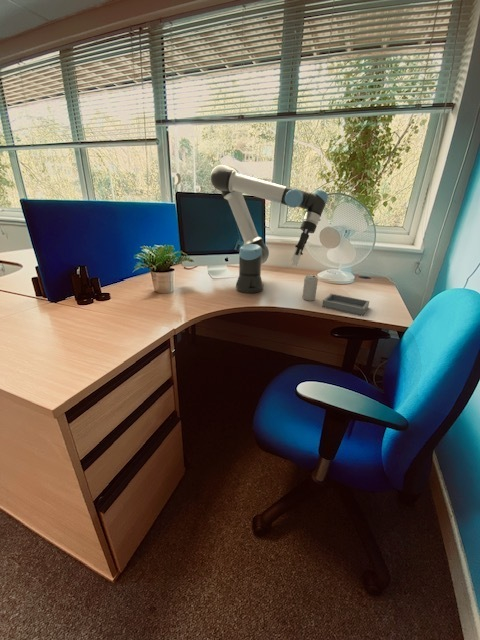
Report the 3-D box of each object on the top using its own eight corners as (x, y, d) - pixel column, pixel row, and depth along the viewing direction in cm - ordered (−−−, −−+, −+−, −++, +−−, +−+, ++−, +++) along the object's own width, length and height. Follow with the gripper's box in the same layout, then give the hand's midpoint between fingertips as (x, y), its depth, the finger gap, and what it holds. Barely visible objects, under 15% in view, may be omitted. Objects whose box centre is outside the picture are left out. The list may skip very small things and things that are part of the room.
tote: (322, 306, 124) (323, 300, 122) (329, 299, 133) (331, 293, 131) (362, 315, 114) (364, 309, 113) (368, 307, 123) (369, 301, 122)
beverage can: (315, 301, 129) (318, 278, 124) (302, 300, 131) (304, 277, 125) (314, 297, 135) (317, 274, 130) (302, 296, 136) (304, 274, 131)
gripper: (319, 217, 120) (301, 262, 123) (315, 231, 144) (300, 268, 147) (303, 213, 121) (286, 257, 124) (302, 227, 145) (288, 264, 148)
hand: (294, 263), depth 136 cm, fingers open, 13 cm apart
